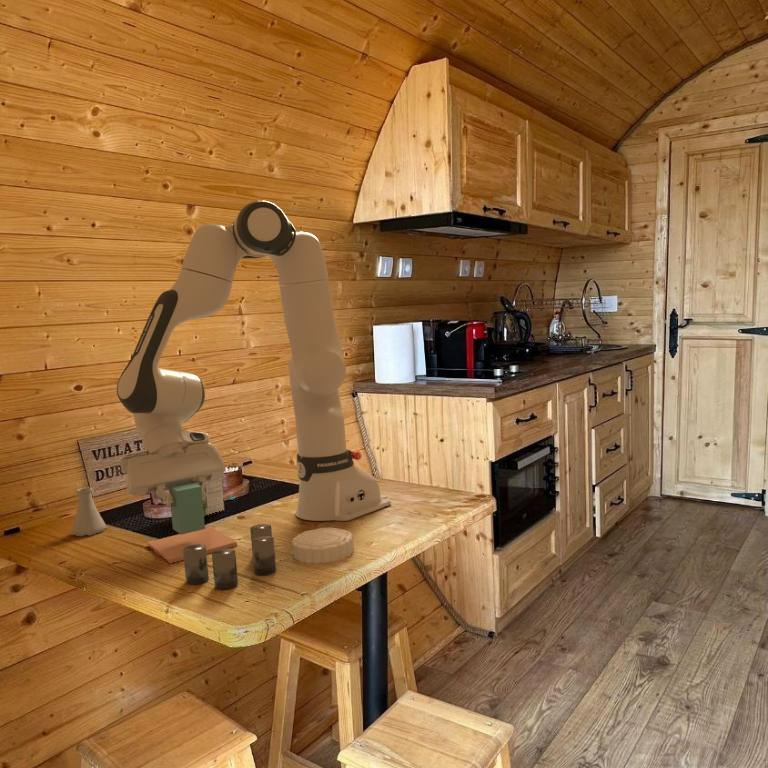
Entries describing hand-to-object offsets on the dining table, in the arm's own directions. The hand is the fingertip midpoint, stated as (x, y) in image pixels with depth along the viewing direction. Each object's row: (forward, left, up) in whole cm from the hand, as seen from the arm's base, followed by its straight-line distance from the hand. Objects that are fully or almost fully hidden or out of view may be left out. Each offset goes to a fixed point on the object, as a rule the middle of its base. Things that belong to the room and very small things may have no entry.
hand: (187, 501), depth 144 cm
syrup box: (-12, -22, -10) cm, 27 cm away
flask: (+14, -28, -10) cm, 32 cm away
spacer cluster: (-1, +20, -10) cm, 23 cm away
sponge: (-23, -31, -10) cm, 40 cm away
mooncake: (-18, +22, -10) cm, 31 cm away
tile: (0, -1, -10) cm, 10 cm away
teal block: (0, -1, -6) cm, 6 cm away
